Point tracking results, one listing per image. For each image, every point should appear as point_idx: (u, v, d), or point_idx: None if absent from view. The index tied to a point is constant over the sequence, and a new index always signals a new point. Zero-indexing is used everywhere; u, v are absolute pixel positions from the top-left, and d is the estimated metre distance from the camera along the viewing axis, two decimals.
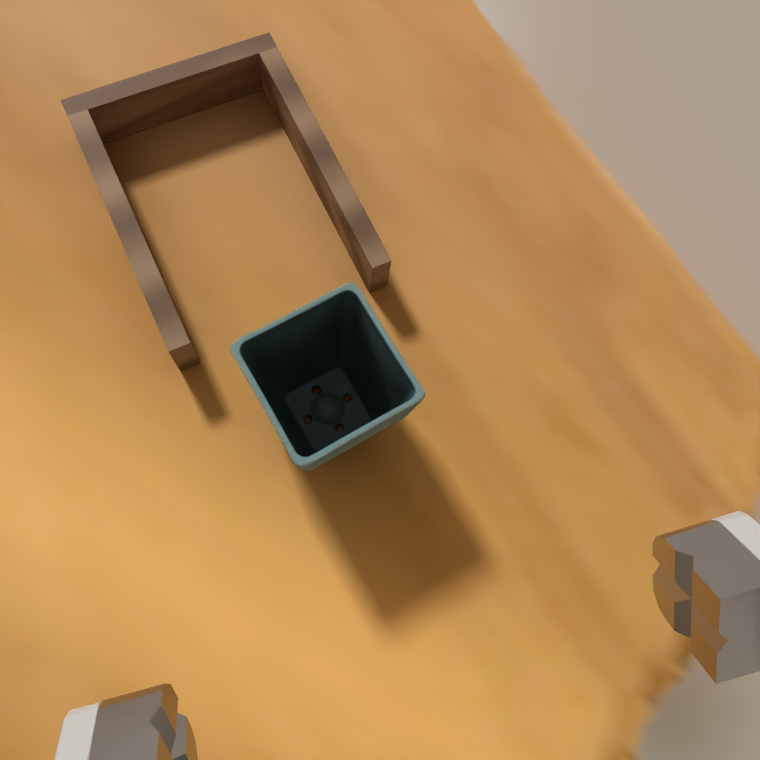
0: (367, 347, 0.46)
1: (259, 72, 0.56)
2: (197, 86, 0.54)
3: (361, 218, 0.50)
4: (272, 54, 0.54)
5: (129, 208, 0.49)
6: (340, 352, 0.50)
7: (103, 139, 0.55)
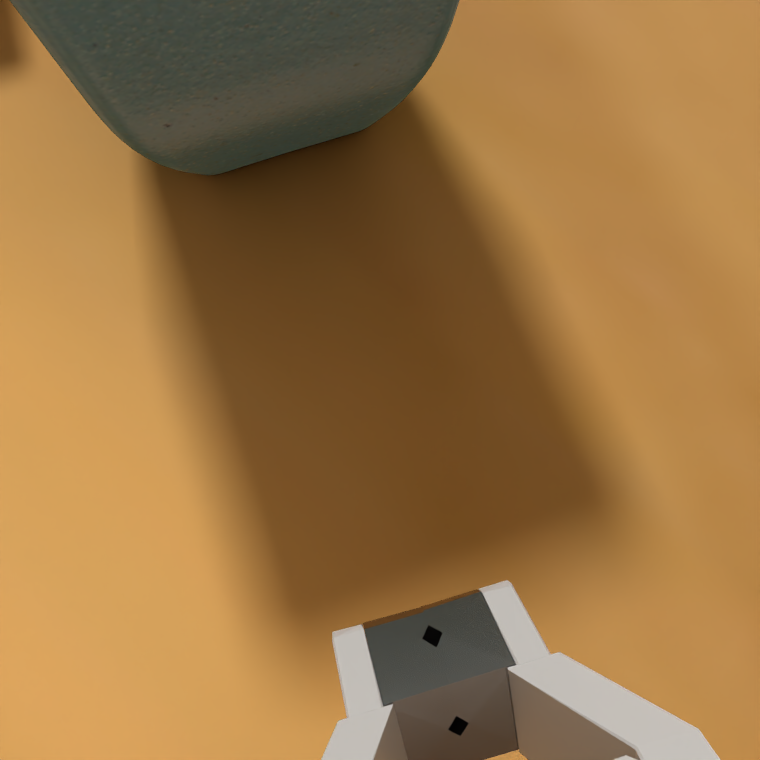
0: None
1: None
2: None
3: None
4: None
5: None
6: None
7: None
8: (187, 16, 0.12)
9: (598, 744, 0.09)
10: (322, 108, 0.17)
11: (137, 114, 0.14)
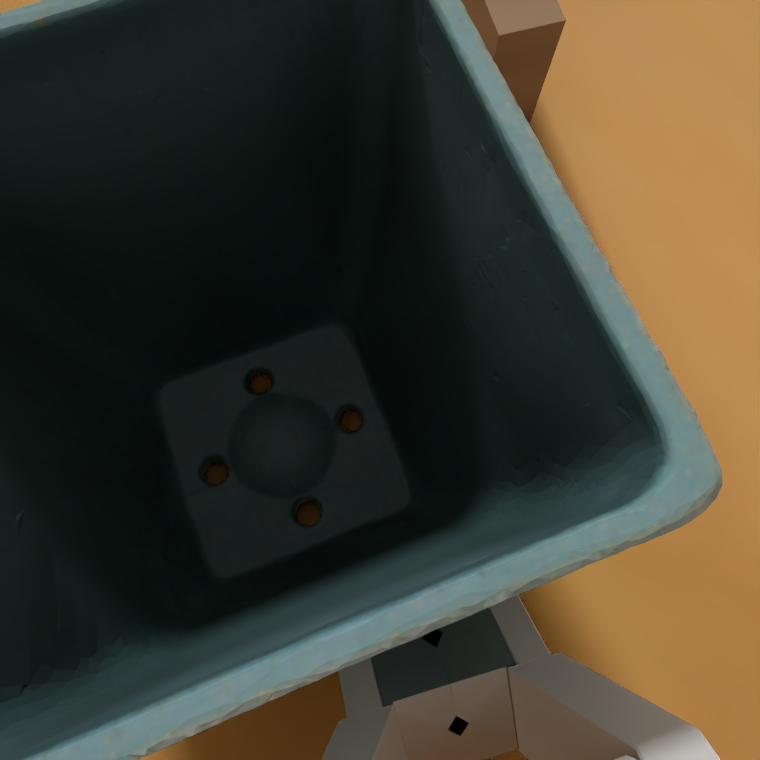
0: (429, 242, 0.12)
1: None
2: None
3: None
4: None
5: None
6: (345, 273, 0.16)
7: None
8: None
9: (598, 744, 0.09)
10: None
11: None
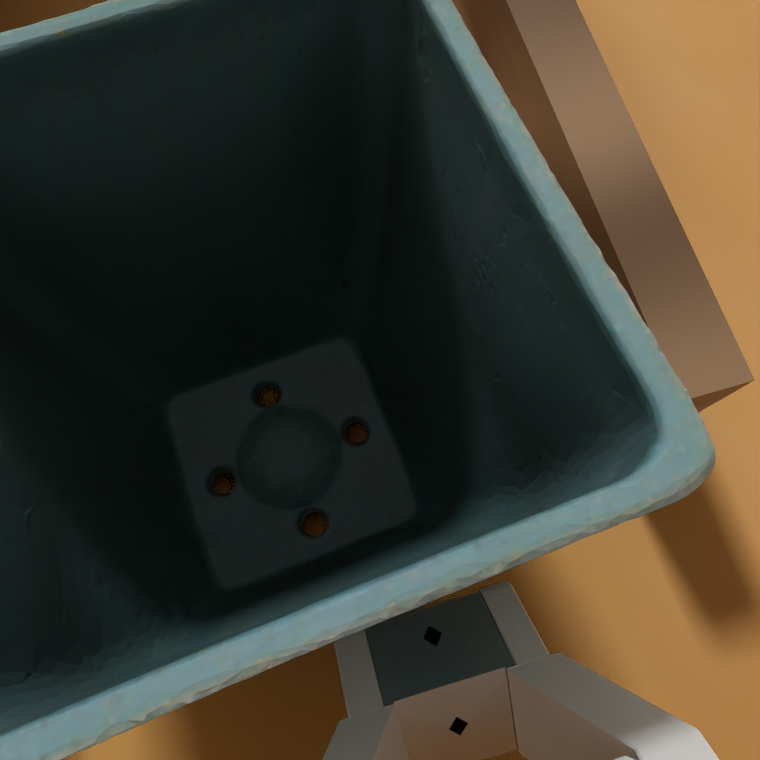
0: (431, 250, 0.12)
1: None
2: None
3: (646, 209, 0.14)
4: None
5: None
6: (351, 288, 0.16)
7: None
8: None
9: (597, 744, 0.09)
10: None
11: None
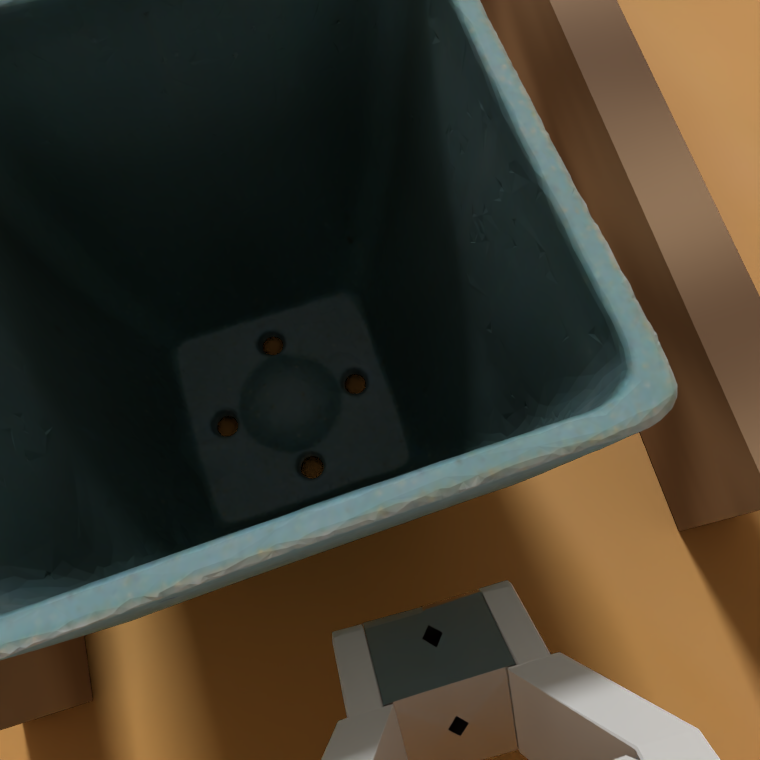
0: (434, 207, 0.13)
1: None
2: None
3: (733, 301, 0.14)
4: None
5: None
6: (356, 244, 0.17)
7: None
8: (208, 588, 0.09)
9: (598, 744, 0.09)
10: None
11: (139, 617, 0.11)
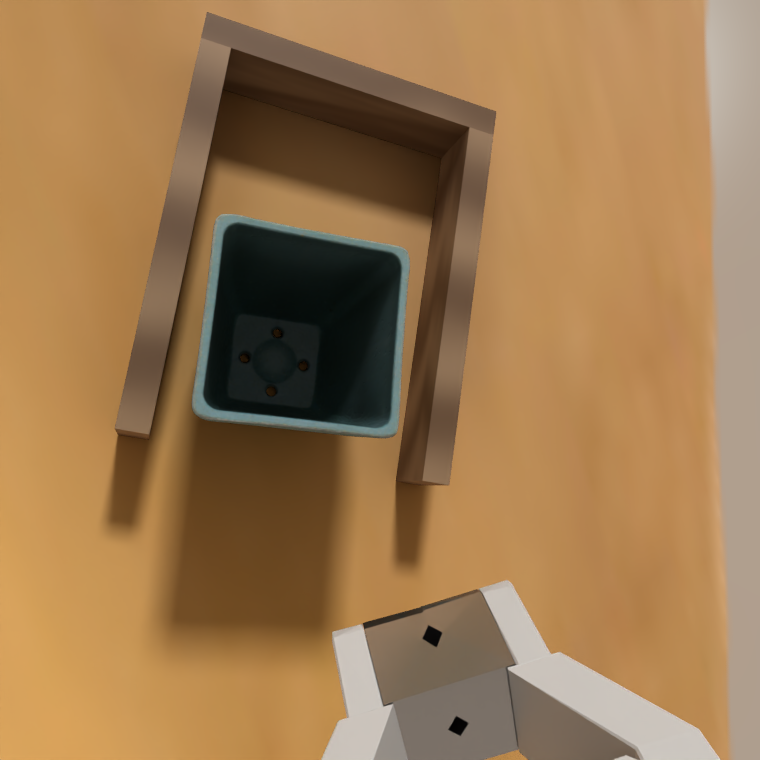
0: (367, 331, 0.35)
1: (452, 142, 0.42)
2: (375, 110, 0.39)
3: (449, 409, 0.37)
4: (482, 140, 0.40)
5: (194, 208, 0.34)
6: (332, 313, 0.38)
7: (225, 85, 0.39)
8: (252, 424, 0.31)
9: (598, 744, 0.09)
10: None
11: None
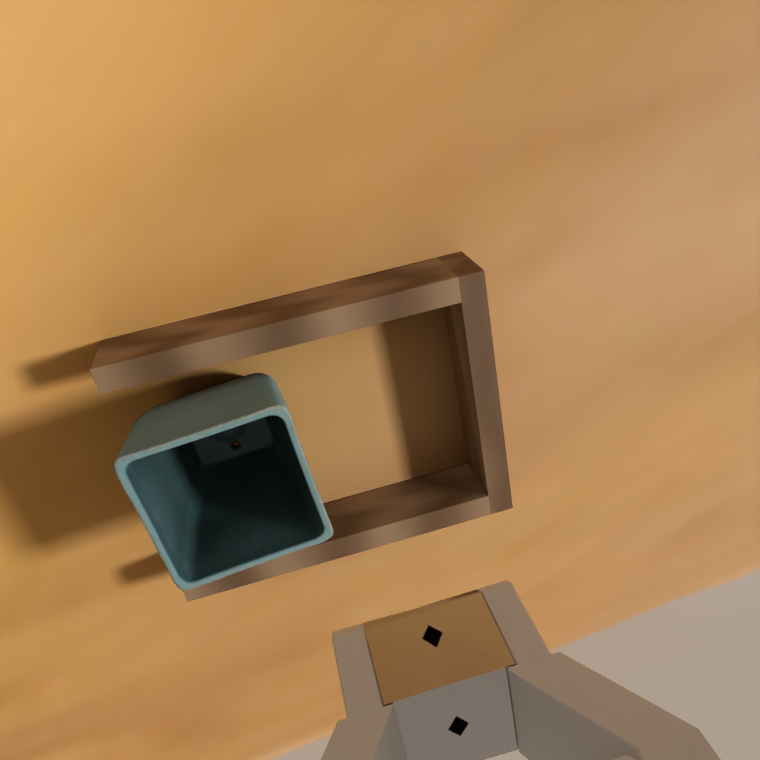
0: (270, 507, 0.41)
1: (477, 477, 0.47)
2: (471, 417, 0.44)
3: (246, 577, 0.44)
4: (482, 509, 0.46)
5: (304, 340, 0.38)
6: (285, 453, 0.44)
7: None
8: None
9: (598, 744, 0.09)
10: None
11: None
